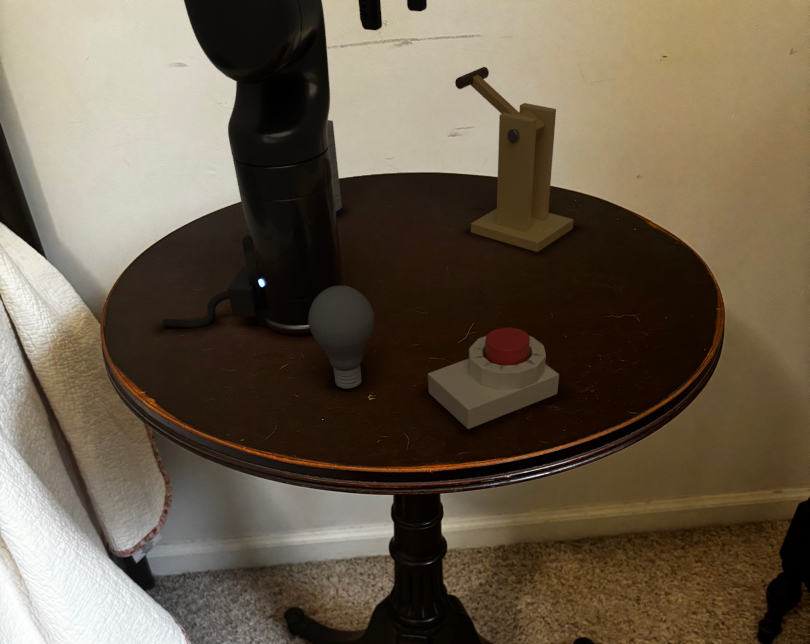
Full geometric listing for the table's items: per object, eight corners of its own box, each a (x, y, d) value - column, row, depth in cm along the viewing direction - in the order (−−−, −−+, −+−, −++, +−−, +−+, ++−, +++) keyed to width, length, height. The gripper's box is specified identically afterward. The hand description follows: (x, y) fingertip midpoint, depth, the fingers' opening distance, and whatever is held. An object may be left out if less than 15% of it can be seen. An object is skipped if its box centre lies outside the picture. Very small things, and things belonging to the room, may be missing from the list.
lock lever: (451, 89, 93) (459, 70, 91) (477, 78, 95) (485, 59, 93) (518, 152, 92) (528, 134, 90) (543, 139, 94) (552, 121, 92)
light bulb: (371, 404, 75) (362, 307, 68) (310, 400, 76) (295, 304, 69) (385, 370, 79) (378, 275, 72) (327, 366, 80) (314, 272, 73)
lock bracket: (470, 232, 101) (471, 114, 91) (507, 210, 105) (511, 95, 95) (537, 252, 96) (545, 129, 86) (572, 228, 100) (584, 109, 91)
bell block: (468, 429, 72) (468, 392, 69) (428, 392, 76) (426, 356, 73) (557, 394, 75) (561, 357, 72) (514, 360, 79) (516, 324, 77)
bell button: (501, 372, 72) (502, 355, 70) (476, 352, 74) (477, 335, 73) (537, 358, 73) (538, 341, 72) (512, 339, 75) (513, 322, 74)
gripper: (393, -185, 82) (404, 3, 93) (304, -170, 74) (328, 33, 85) (455, -188, 78) (458, 7, 90) (369, -173, 70) (384, 38, 82)
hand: (395, 19), depth 87 cm, fingers open, 8 cm apart
